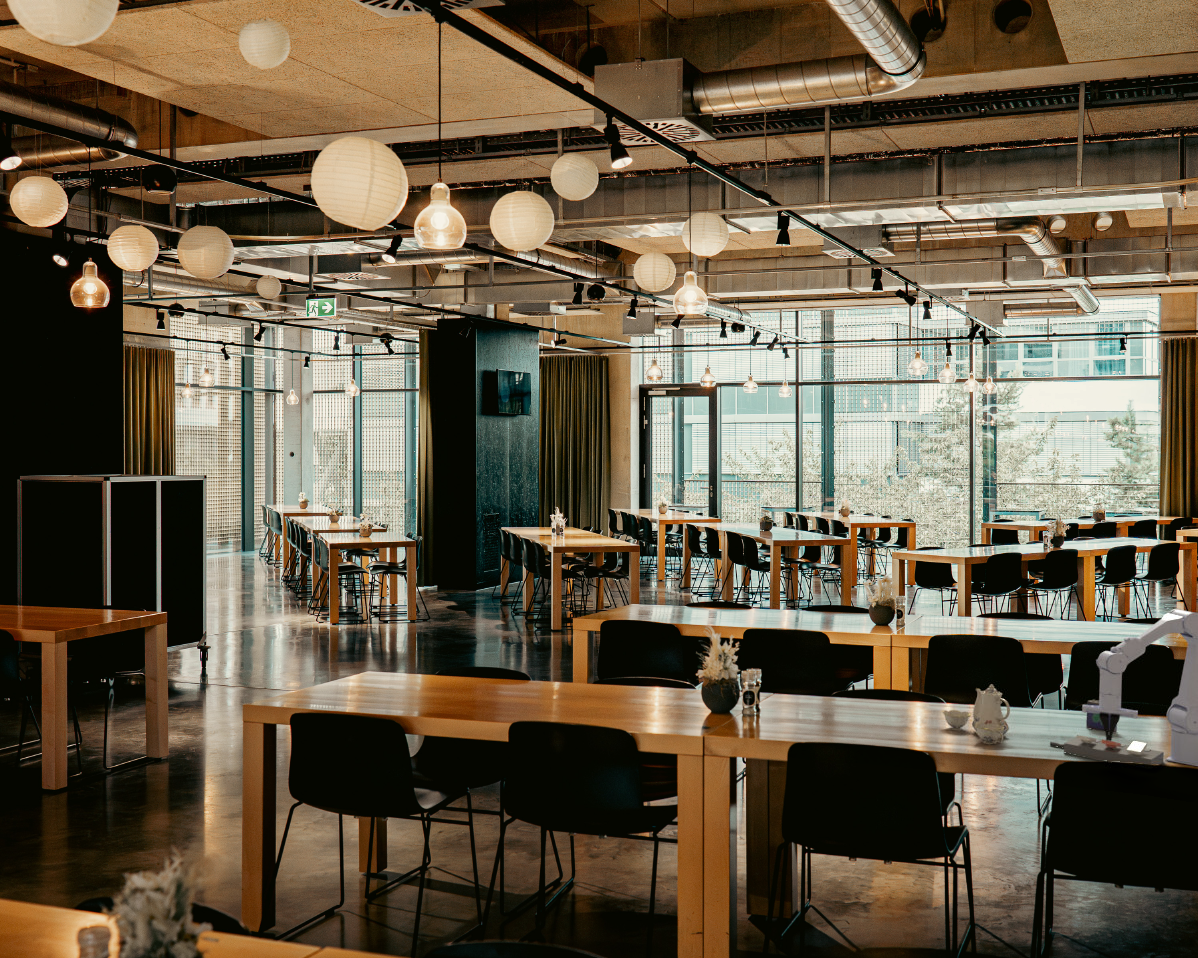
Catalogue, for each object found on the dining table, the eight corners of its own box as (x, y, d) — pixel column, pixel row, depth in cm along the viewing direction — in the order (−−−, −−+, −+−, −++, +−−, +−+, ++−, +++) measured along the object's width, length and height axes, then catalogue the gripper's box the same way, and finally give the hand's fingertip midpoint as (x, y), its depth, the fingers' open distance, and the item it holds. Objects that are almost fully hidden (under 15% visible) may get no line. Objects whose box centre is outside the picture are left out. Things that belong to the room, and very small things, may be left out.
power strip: (1163, 762, 313) (1163, 751, 313) (1151, 769, 304) (1151, 758, 304) (1057, 742, 333) (1058, 731, 333) (1043, 749, 324) (1043, 738, 324)
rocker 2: (1146, 748, 312) (1146, 742, 311) (1140, 756, 307) (1140, 751, 307) (1133, 745, 314) (1133, 740, 314) (1127, 754, 310) (1126, 749, 309)
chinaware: (933, 731, 351) (930, 680, 350) (974, 723, 356) (972, 673, 355) (991, 753, 324) (988, 699, 323) (1035, 744, 330) (1033, 691, 329)
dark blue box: (1117, 731, 349) (1118, 698, 349) (1115, 733, 347) (1116, 700, 347) (1087, 726, 355) (1088, 694, 355) (1084, 728, 353) (1085, 695, 353)
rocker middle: (1120, 748, 316) (1121, 743, 316) (1114, 747, 312) (1114, 741, 312) (1107, 746, 318) (1108, 740, 319) (1101, 744, 314) (1101, 739, 314)
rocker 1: (1095, 744, 321) (1096, 738, 321) (1089, 742, 316) (1089, 737, 317) (1082, 741, 323) (1083, 736, 323) (1076, 740, 319) (1077, 734, 319)
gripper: (1138, 693, 314) (1136, 740, 314) (1083, 687, 320) (1082, 733, 320) (1138, 698, 307) (1136, 745, 307) (1082, 692, 314) (1081, 738, 314)
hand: (1108, 739), depth 313 cm, fingers closed
